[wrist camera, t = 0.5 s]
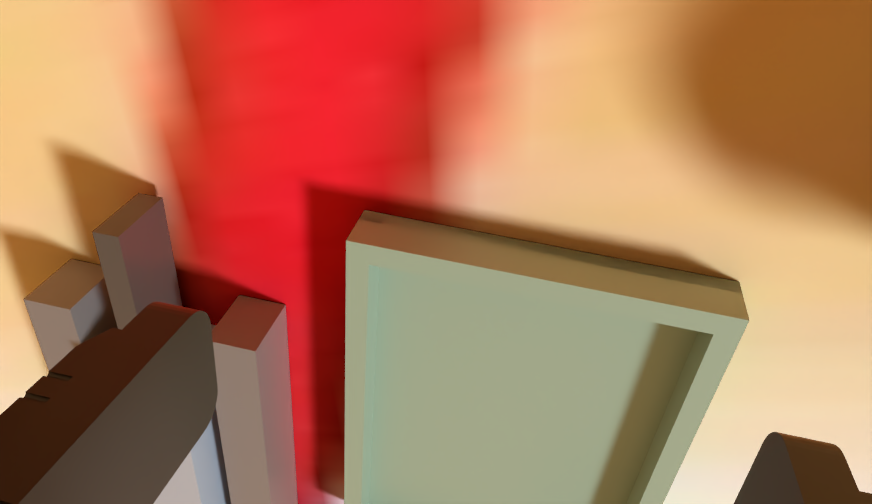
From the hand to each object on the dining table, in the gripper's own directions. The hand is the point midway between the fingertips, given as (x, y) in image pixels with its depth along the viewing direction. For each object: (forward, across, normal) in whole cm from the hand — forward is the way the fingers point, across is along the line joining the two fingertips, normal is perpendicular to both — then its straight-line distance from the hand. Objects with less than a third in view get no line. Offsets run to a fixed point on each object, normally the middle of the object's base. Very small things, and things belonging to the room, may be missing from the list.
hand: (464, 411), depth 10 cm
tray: (+19, -1, +18) cm, 26 cm away
